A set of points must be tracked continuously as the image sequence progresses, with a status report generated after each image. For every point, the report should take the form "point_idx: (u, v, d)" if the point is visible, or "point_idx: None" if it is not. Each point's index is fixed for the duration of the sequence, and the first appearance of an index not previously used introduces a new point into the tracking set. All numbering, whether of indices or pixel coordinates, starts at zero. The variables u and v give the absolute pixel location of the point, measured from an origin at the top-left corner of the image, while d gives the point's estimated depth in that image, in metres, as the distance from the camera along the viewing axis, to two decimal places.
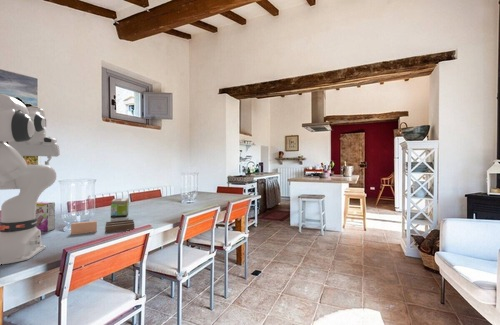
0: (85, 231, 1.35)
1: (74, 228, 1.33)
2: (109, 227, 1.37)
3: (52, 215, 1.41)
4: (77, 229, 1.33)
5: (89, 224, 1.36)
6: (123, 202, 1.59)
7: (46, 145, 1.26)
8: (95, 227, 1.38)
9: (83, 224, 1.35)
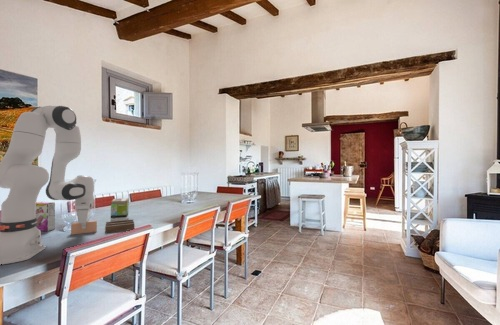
0: (85, 231, 1.35)
1: (74, 228, 1.33)
2: (109, 227, 1.37)
3: (52, 215, 1.41)
4: (77, 229, 1.33)
5: (89, 224, 1.36)
6: (123, 202, 1.59)
7: None
8: (95, 227, 1.38)
9: None
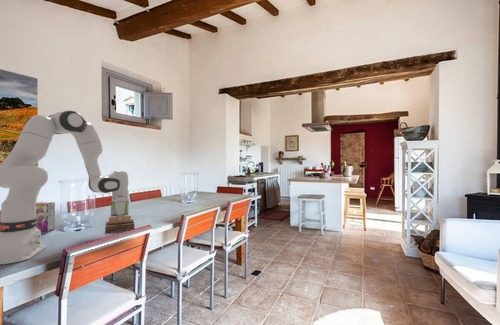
0: None
1: (111, 222, 1.44)
2: (109, 227, 1.37)
3: (52, 215, 1.41)
4: (113, 222, 1.45)
5: (124, 218, 1.47)
6: None
7: None
8: (129, 221, 1.49)
9: None
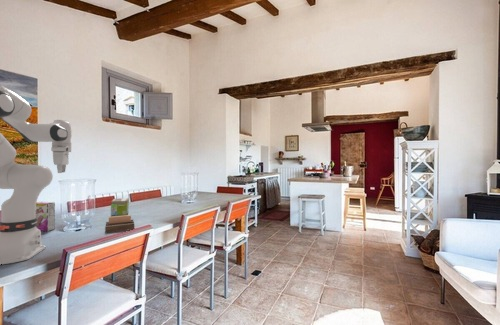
0: None
1: (111, 222, 1.44)
2: (109, 227, 1.37)
3: (52, 215, 1.41)
4: (113, 222, 1.45)
5: (124, 218, 1.47)
6: (123, 202, 1.59)
7: None
8: (129, 221, 1.49)
9: (119, 218, 1.46)
